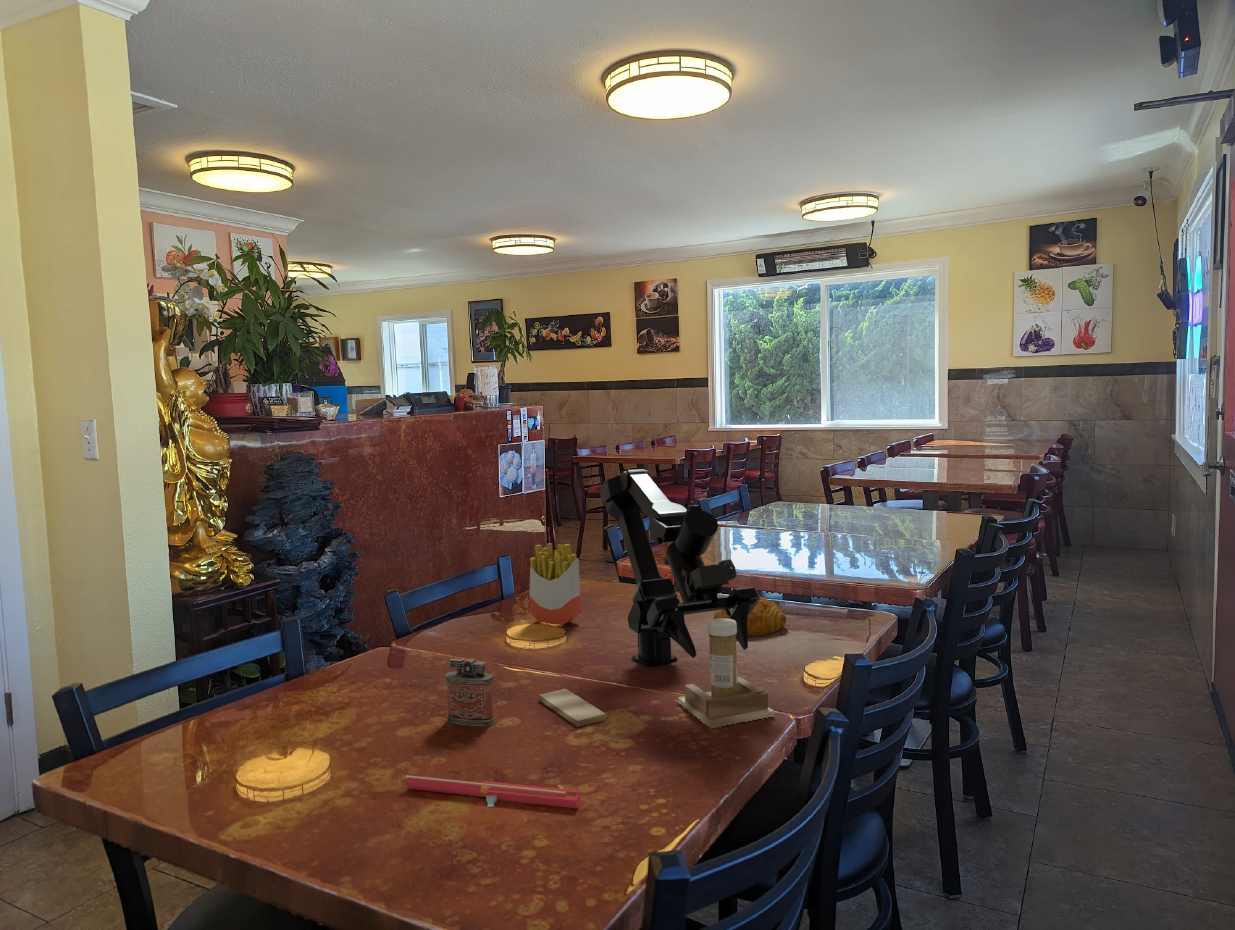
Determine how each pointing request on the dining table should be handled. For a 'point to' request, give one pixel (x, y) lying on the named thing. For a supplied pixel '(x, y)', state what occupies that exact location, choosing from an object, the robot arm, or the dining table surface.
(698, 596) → the robot arm
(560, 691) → the loose plank
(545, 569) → the french fries container
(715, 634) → the sprinkles bottle
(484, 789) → the red bar
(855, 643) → the dining table surface
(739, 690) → the beige wooden u-shaped tray
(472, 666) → the lighter
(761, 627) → the croissant
